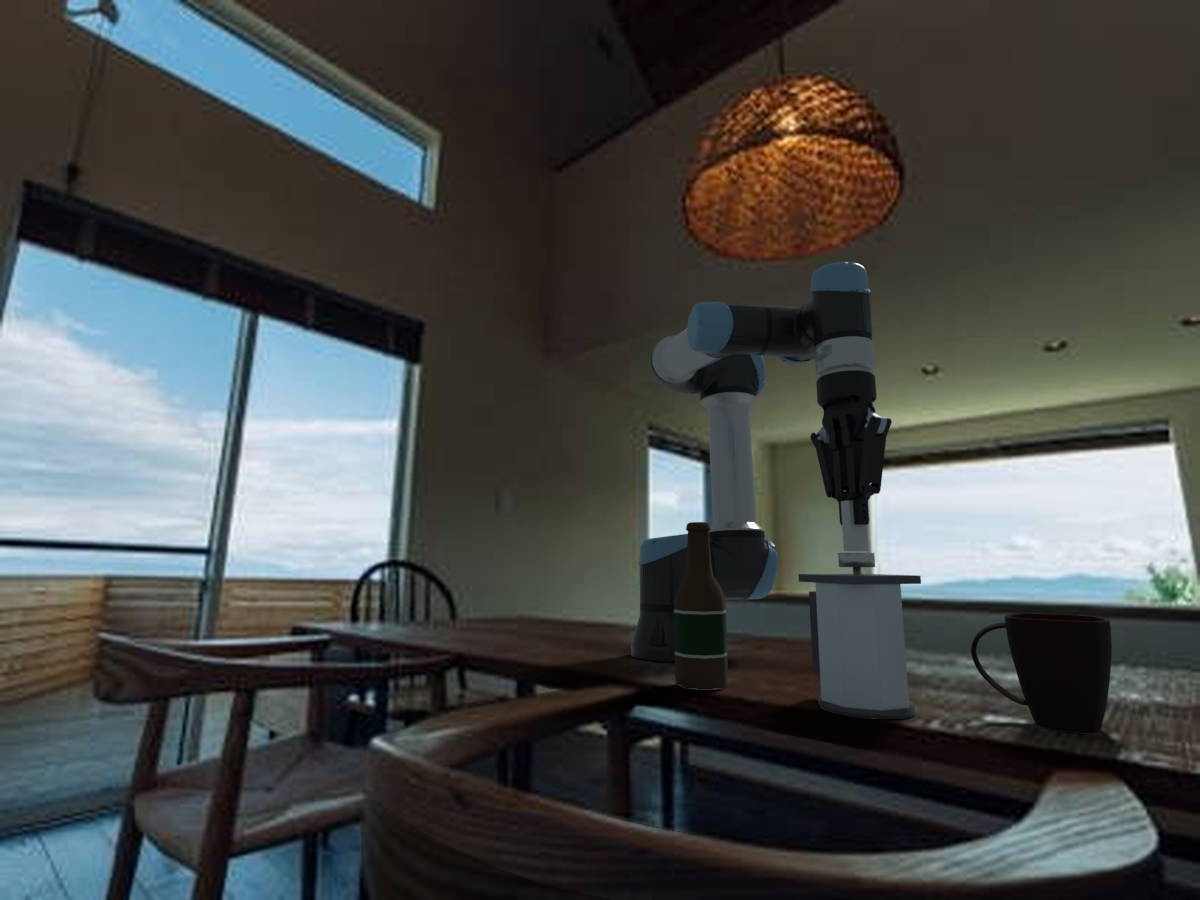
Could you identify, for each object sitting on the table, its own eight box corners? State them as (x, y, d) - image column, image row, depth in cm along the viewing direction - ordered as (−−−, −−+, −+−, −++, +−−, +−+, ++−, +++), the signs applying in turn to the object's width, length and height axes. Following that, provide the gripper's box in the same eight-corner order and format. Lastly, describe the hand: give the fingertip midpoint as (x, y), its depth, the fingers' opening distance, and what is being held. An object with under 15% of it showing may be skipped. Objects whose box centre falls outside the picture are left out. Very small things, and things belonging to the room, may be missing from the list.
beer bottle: (696, 679, 101) (693, 524, 105) (739, 686, 95) (734, 522, 99) (664, 686, 95) (662, 522, 99) (707, 693, 90) (703, 520, 94)
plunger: (834, 620, 84) (830, 553, 86) (861, 619, 86) (857, 553, 87) (858, 623, 80) (854, 552, 82) (886, 622, 82) (881, 552, 83)
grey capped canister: (785, 698, 87) (780, 573, 90) (852, 692, 91) (845, 573, 94) (862, 723, 74) (853, 576, 77) (936, 715, 78) (925, 575, 81)
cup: (1124, 744, 66) (1109, 623, 68) (969, 723, 74) (960, 615, 76) (1123, 725, 74) (1109, 616, 76) (983, 707, 82) (974, 610, 84)
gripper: (792, 385, 93) (800, 551, 89) (857, 359, 81) (870, 550, 77) (834, 389, 96) (844, 551, 92) (903, 365, 84) (918, 550, 80)
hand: (856, 550), depth 84 cm, fingers closed
